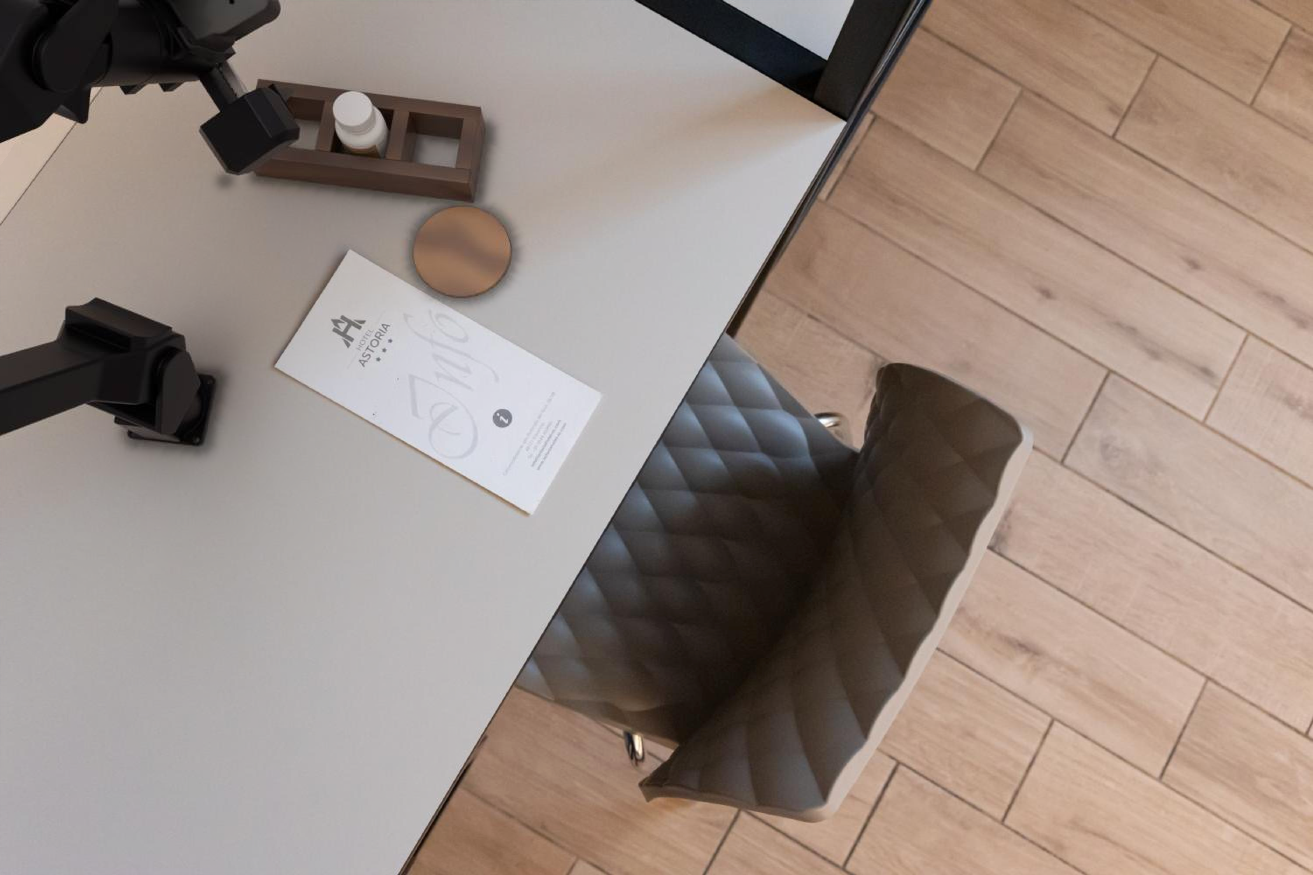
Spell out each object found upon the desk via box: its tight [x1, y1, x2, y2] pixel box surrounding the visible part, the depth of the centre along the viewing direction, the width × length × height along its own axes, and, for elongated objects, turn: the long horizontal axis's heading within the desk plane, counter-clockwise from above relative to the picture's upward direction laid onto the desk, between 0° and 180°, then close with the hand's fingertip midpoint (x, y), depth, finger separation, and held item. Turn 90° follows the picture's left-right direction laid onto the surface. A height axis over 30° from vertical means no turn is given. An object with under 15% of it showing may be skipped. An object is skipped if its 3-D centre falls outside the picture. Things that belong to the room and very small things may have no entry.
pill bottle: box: [333, 90, 390, 159], centre depth 90 cm, size 4×4×8 cm
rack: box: [252, 78, 487, 203], centre depth 92 cm, size 8×21×4 cm, turn 84°
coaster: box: [412, 205, 512, 298], centre depth 92 cm, size 9×9×1 cm
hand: (254, 39), depth 77 cm, fingers open, 9 cm apart
